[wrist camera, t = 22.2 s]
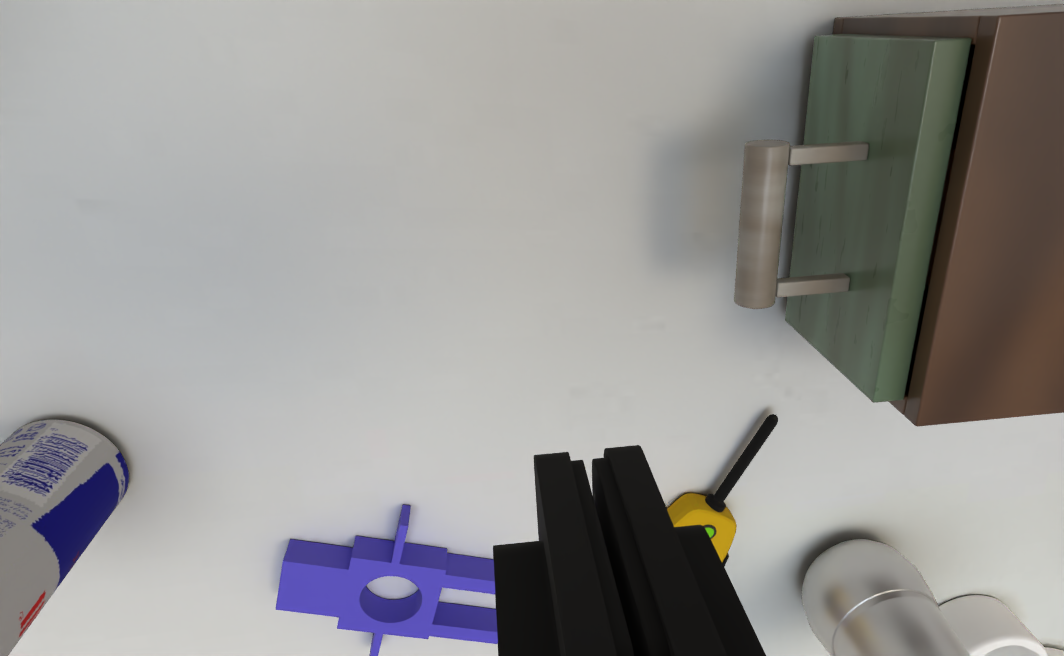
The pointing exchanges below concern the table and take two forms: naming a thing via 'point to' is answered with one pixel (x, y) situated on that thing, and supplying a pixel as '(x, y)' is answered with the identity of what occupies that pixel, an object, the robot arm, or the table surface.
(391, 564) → the puzzle piece
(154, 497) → the table surface
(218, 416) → the table surface
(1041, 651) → the white brass knuckles
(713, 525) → the yellow black long piece
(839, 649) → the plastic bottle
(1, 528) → the beverage can
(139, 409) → the table surface
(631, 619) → the robot arm
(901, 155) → the drawer
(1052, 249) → the cabinet
